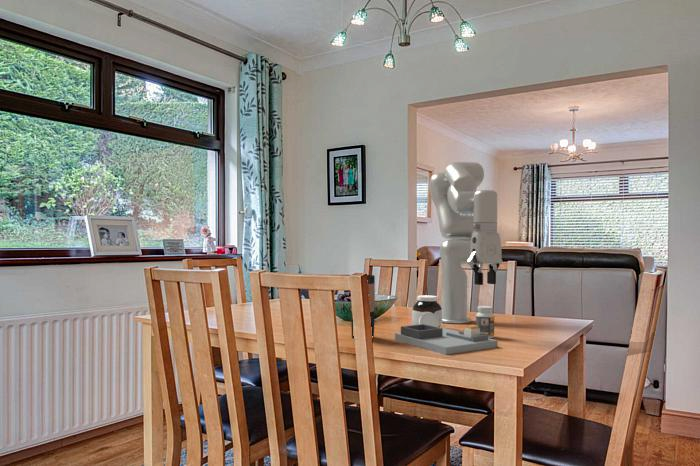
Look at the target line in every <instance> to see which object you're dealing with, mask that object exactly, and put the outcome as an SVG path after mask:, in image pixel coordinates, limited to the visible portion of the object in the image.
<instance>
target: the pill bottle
mask: <svg viewBox="0 0 700 466" xmlns="http://www.w3.org/2000/svg"><path fill="white" fill-rule="evenodd" d="M475 325H476V326H478V328H480V335H485V334H486V335H488V338H489V339H493V338H495V315H494V314H493V306H489V305H479V306H477V313H476V315H475Z"/></svg>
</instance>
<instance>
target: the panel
mask: <svg viewBox="0 0 700 466" xmlns="http://www.w3.org/2000/svg"><path fill="white" fill-rule="evenodd" d="M394 340H395V341H399V342H401V343H405V344H409V345H411V346H412V345H413V346H414V347H419V348H421V349H426V350H429V351H432V352H435V353H439V354H442V355H452V354H460V353H467V352H472V351H473V352H474V351H481V350H487V349H495V348H498V340H497V339H493V338H488V335H486V334H485V335H477V336H471V338H469V337H465V336H464V330H463V331H462V330H454V329H449V328H446V327H439V328H438V327H434V326H430V325H425V324H420V325H413V324H412V325H411V324H410V325H402V326H400V332H397V333H396V332H395V333H394Z"/></svg>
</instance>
